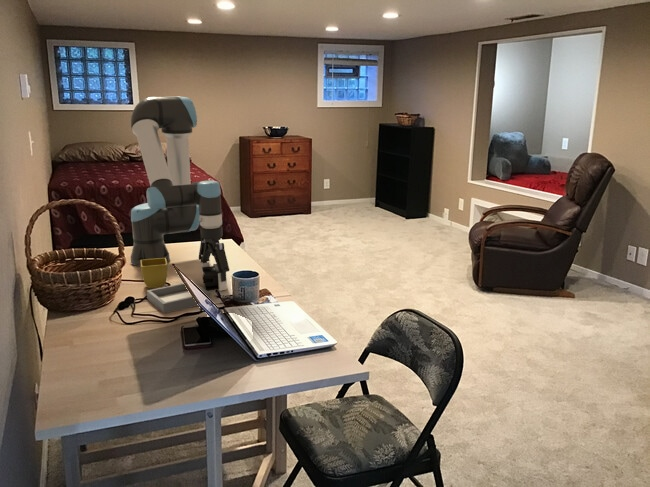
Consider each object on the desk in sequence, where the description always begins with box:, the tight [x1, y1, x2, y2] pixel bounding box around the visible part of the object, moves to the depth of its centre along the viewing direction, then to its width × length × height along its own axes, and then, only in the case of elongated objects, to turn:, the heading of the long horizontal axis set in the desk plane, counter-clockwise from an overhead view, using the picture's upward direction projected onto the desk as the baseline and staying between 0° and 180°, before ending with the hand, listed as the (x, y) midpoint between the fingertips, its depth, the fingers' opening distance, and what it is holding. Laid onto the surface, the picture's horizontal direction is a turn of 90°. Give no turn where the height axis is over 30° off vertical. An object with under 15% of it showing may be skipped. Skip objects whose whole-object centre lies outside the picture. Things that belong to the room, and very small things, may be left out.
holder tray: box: [146, 282, 212, 314], centre depth 187 cm, size 15×16×3 cm
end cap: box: [201, 263, 219, 292], centre depth 201 cm, size 10×7×7 cm
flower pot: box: [140, 258, 168, 289], centre depth 200 cm, size 9×9×9 cm
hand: (214, 284), depth 201 cm, fingers open, 12 cm apart
